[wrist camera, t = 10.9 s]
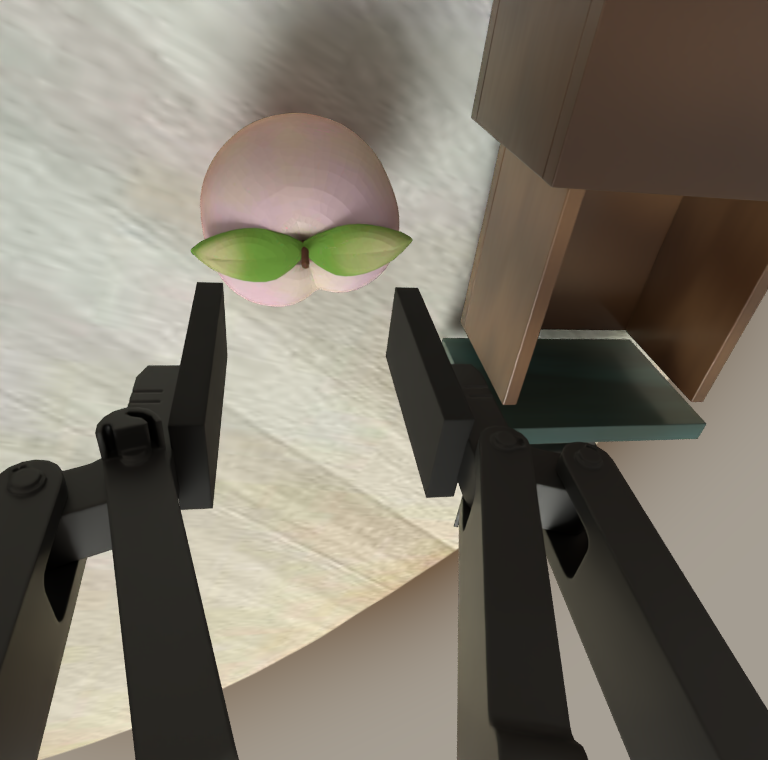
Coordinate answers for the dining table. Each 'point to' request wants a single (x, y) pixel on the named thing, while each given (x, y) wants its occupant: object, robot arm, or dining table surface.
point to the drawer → (607, 305)
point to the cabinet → (631, 94)
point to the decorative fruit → (297, 211)
